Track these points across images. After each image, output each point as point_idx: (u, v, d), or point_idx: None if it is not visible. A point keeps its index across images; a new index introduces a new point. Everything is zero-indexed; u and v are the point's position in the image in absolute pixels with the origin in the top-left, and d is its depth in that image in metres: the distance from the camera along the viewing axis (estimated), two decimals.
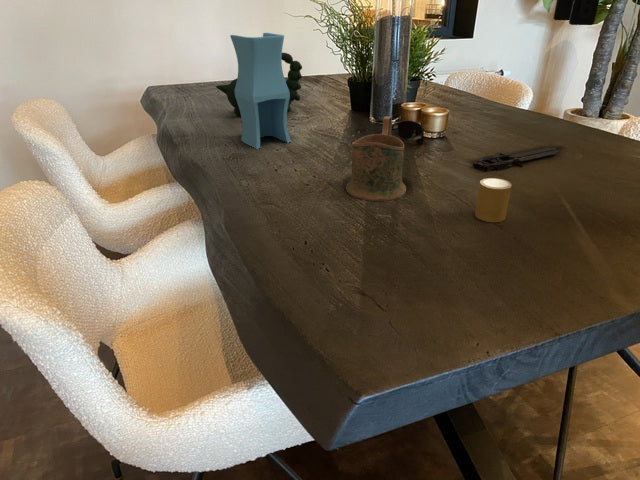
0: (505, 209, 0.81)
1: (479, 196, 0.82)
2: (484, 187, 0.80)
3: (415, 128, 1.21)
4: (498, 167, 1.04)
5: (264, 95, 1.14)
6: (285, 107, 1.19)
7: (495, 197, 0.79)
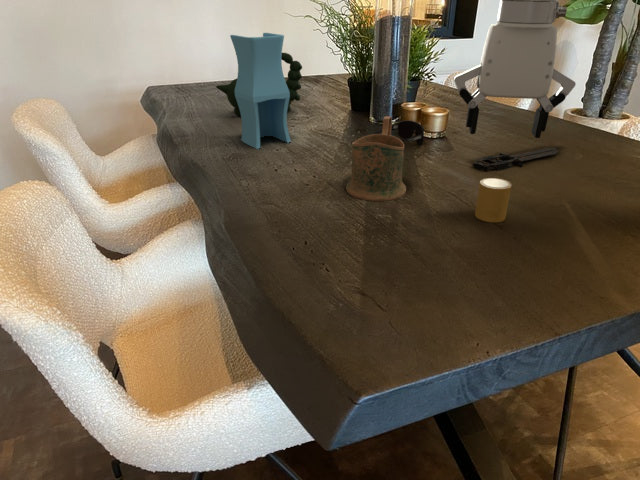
0: (505, 209, 0.81)
1: (479, 196, 0.82)
2: (484, 187, 0.80)
3: (415, 128, 1.21)
4: (498, 167, 1.04)
5: (264, 95, 1.14)
6: (285, 107, 1.19)
7: (495, 197, 0.79)
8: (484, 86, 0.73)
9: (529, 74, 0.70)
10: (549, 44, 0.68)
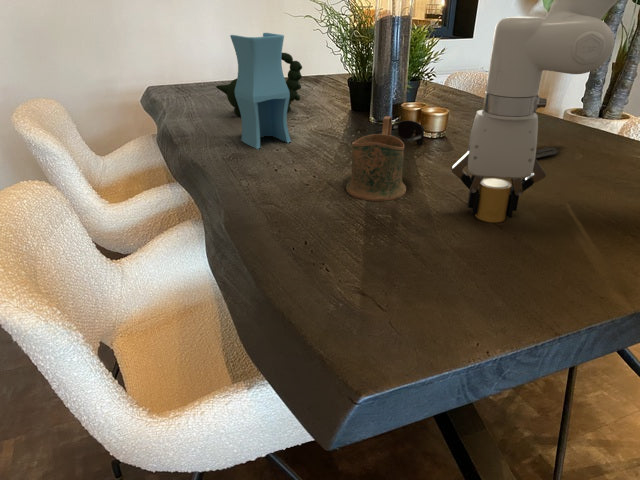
0: (505, 209, 0.81)
1: (479, 196, 0.82)
2: (484, 187, 0.80)
3: (415, 128, 1.21)
4: None
5: (264, 95, 1.14)
6: (285, 107, 1.19)
7: (495, 197, 0.79)
8: (472, 167, 0.78)
9: (513, 158, 0.76)
10: (531, 133, 0.74)
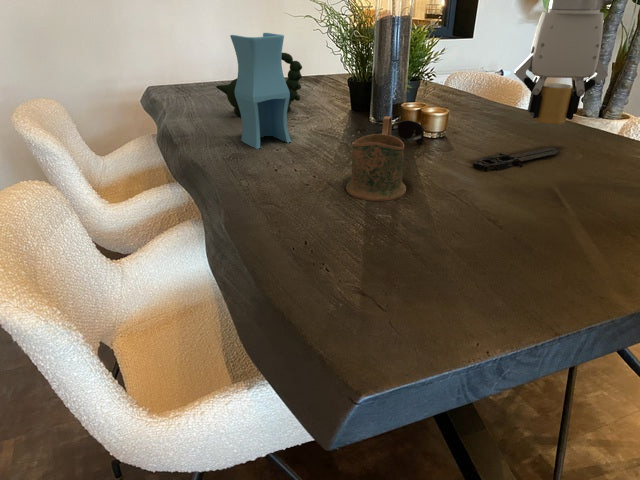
0: (566, 111, 0.84)
1: (541, 99, 0.84)
2: (547, 88, 0.83)
3: (415, 128, 1.21)
4: (498, 167, 1.04)
5: (264, 95, 1.14)
6: (285, 107, 1.19)
7: (558, 97, 0.82)
8: (536, 67, 0.81)
9: (578, 56, 0.79)
10: (597, 28, 0.77)
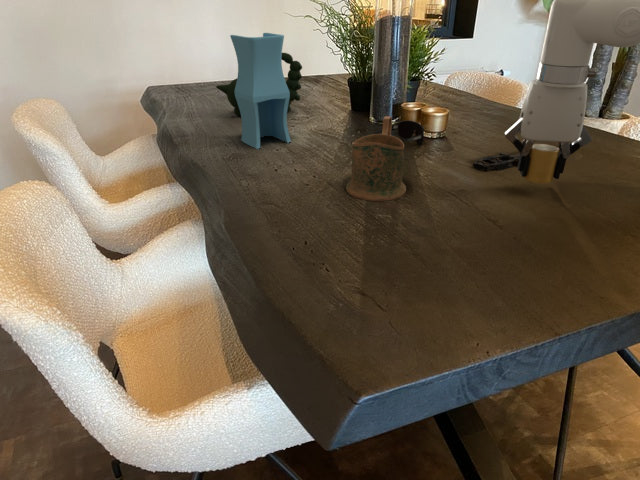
0: (553, 171, 0.90)
1: None
2: (535, 150, 0.88)
3: (415, 128, 1.21)
4: (498, 167, 1.04)
5: (264, 95, 1.14)
6: (285, 107, 1.19)
7: (545, 159, 0.88)
8: (525, 132, 0.87)
9: (564, 123, 0.85)
10: (581, 99, 0.83)
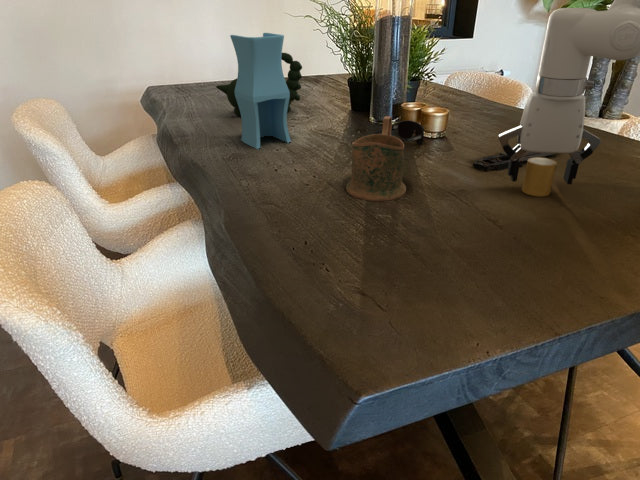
0: (550, 184, 0.91)
1: (527, 173, 0.91)
2: (532, 164, 0.90)
3: (415, 128, 1.21)
4: (498, 167, 1.04)
5: (264, 95, 1.14)
6: (285, 107, 1.19)
7: (543, 173, 0.89)
8: (524, 144, 0.88)
9: (563, 134, 0.85)
10: (579, 111, 0.83)
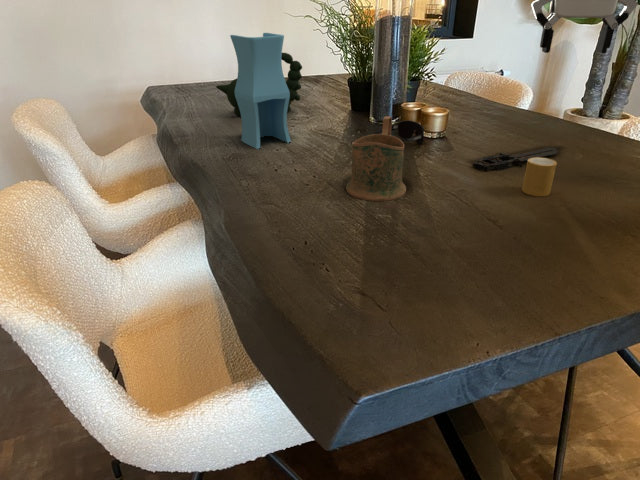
0: (550, 184, 0.91)
1: (527, 173, 0.91)
2: (532, 164, 0.90)
3: (415, 128, 1.21)
4: (498, 167, 1.04)
5: (264, 95, 1.14)
6: (285, 107, 1.19)
7: (543, 173, 0.89)
8: (559, 8, 0.86)
9: None
10: None
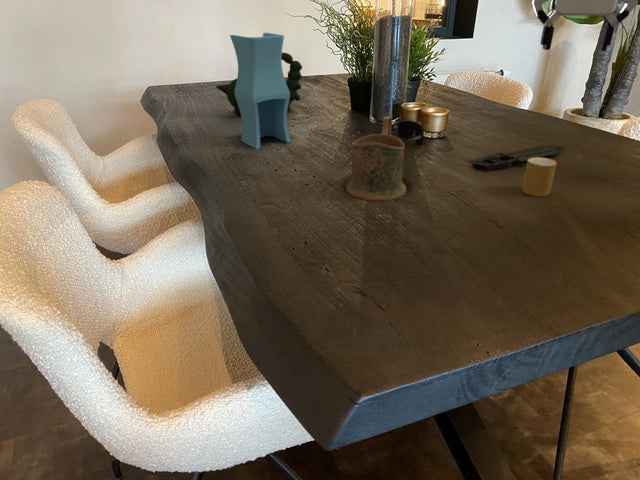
0: (550, 184, 0.91)
1: (527, 173, 0.91)
2: (532, 164, 0.90)
3: (415, 128, 1.21)
4: (498, 167, 1.04)
5: (264, 95, 1.14)
6: (285, 107, 1.19)
7: (543, 173, 0.89)
8: (560, 5, 0.86)
9: None
10: None
